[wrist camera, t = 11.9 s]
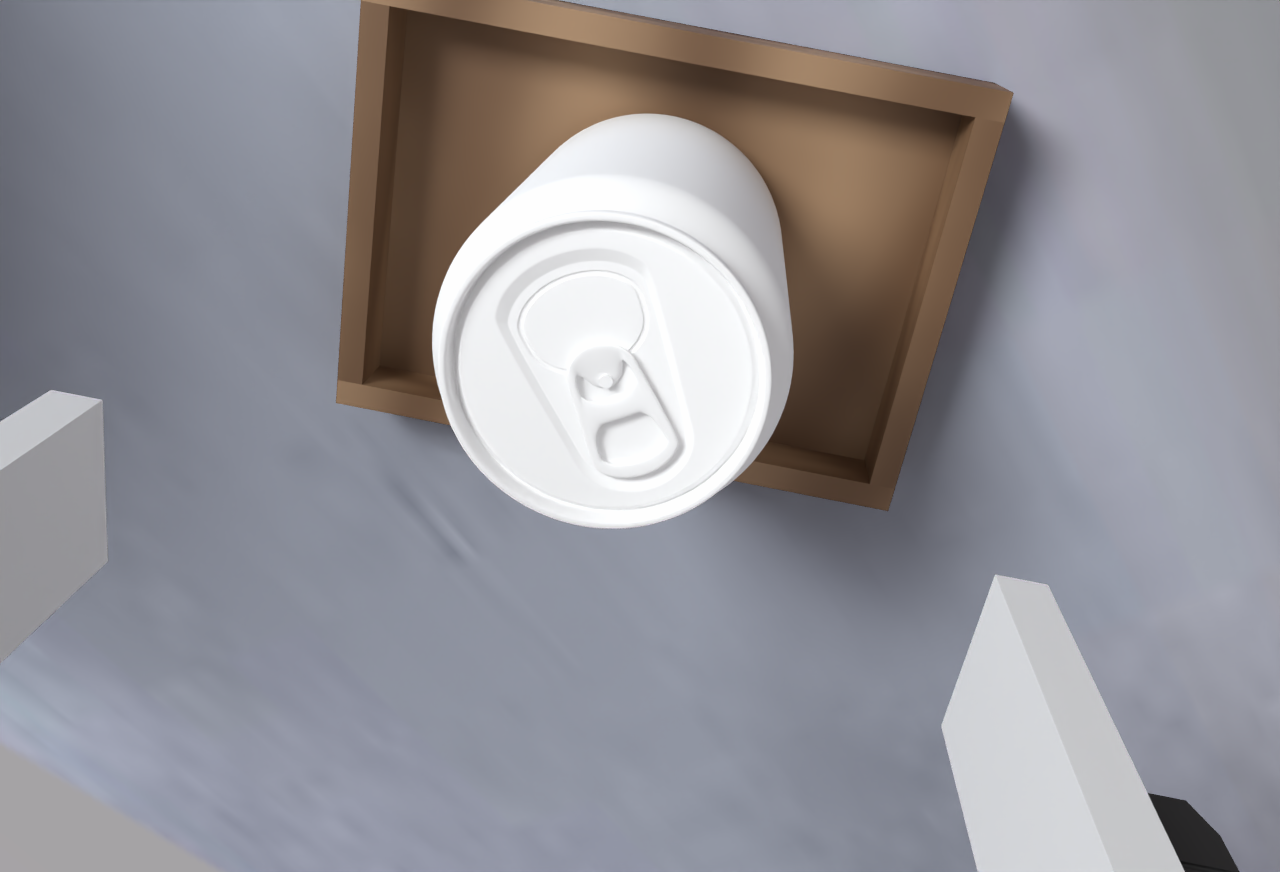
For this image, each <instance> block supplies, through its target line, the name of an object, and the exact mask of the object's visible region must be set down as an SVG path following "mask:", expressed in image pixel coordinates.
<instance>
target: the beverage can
mask: <svg viewBox="0 0 1280 872" xmlns="http://www.w3.org/2000/svg"><path fill="white" fill-rule="evenodd" d="M432 352H433V363H434V369H435V375H436V379H437V384H438V387H439V391H440V394H441V397H442V401H443V405H444V408H445V411H446V414H447V417H448V420H449V422H450V425H451V427H452V429H453V431H454V433H455V435H456V437H457V439H458V441H459V442H460V444H461V446H462V447H463V449H464V450H465V452H466V453H467V455H468V456H469V457H470V459H471V460H472V461H473V463H474V464H475V465H476V466H477V467H478V469H479V470H480V471H481V472H482V473H483V474H484V475H485V476H486V477H487V478H488V479H489V480H490V481H491V482H492V483H493V484H494V485H496V486H497V487H498V488H499V489H500V490H502V491H503V492H504V493H506V494H507V495H508V496H510V497H511V498H513V499H514V500H516V501H517V502H519V503H521V504H522V505H524V506H526V507H528V508H530V509H532V510H534V511H536V512H538V513H540V514H542V515H545V516H547V517H550V518H553V519H555V520H559V521H562V522H565V523H569V524H573V525H578V526H584V527H591V528H601V529H624V528H634V527H641V526H647V525H651V524H656V523H659V522H663V521H666V520H669V519H672V518H674V517H677V516H679V515H681V514H684V513H686V512H688V511H690V510H692V509H694V508H695V507H697V506H699V505H700V504H702V503H704V502H705V501H707V500H708V499H710V498H711V497H712V496H714V495H715V494H716V493H718V492H719V491H720V490H722V489H723V488H725V487H726V486H727V485H729V484H730V483H731V482H732V481H734V480H735V479H736V478H737V477H738V476H739V475H740V474H742V473H743V472H744V471H745V470H746V469H747V468H748V467H749V465H750V464H751V463H752V462H753V461H754V460H755V459H756V457H757V456H758V455H759V454H760V452H761V451H762V449H763V448H764V447H765V445H766V444H767V442H768V440H769V439H770V437H771V435H772V434H773V432H774V430H775V428H776V426H777V424H778V422H779V420H780V417H781V415H782V412H783V410H784V407H785V404H786V401H787V397H788V394H789V389H790V385H791V379H792V372H793V355H794V350H793V334H792V324H791V315H790V306H789V297H788V288H787V279H786V270H785V261H784V252H783V243H782V234H781V227H780V222H779V217H778V213H777V210H776V207H775V204H774V201H773V198H772V196H771V194H770V191H769V189H768V187H767V185H766V184H765V182H764V180H763V178H762V177H761V175H760V174H759V172H758V171H757V169H756V168H755V167H754V165H753V164H752V163H751V162H750V161H749V159H748V158H747V157H746V156H745V155H744V154H743V153H742V152H741V151H740V150H739V149H738V148H737V147H735V146H734V145H733V144H732V143H731V142H729V141H728V140H727V139H725V138H724V137H722V136H721V135H719V134H718V133H716V132H714V131H712V130H711V129H709V128H707V127H705V126H702V125H700V124H698V123H695V122H693V121H690V120H687V119H683V118H679V117H675V116H670V115H663V114H631V115H624V116H619V117H615V118H611V119H608V120H604V121H602V122H599V123H597V124H594V125H592V126H590V127H588V128H586V129H584V130H582V131H580V132H579V133H577V134H576V135H574V136H573V137H571V138H570V139H568V140H567V141H566V142H564V143H563V144H562V145H561V146H560V147H559V148H557V149H556V150H555V151H554V152H553V153H552V154H551V155H550V156H549V157H548V158H547V159H546V160H545V161H544V162H543V163H542V164H541V165H540V166H539V167H538V168H537V169H536V170H535V171H534V172H533V173H532V174H531V175H530V176H529V177H528V178H527V179H526V180H525V181H524V182H523V183H522V184H521V185H520V186H519V187H518V188H517V189H516V190H515V191H514V192H513V193H512V194H511V195H509V196H508V197H507V198H506V199H505V200H504V201H503V202H502V203H501V204H500V205H499V206H498V207H497V208H496V209H495V210H494V211H493V212H492V213H491V214H490V215H489V216H488V217H487V218H486V219H485V220H484V221H483V222H482V223H481V224H480V225H479V226H478V227H477V228H476V229H475V231H474V232H473V233H472V234H471V235H470V236H469V238H468V239H467V240H466V241H465V243H464V244H463V246H462V247H461V248H460V250H459V251H458V253H457V255H456V256H455V258H454V260H453V262H452V263H451V265H450V267H449V269H448V271H447V274H446V276H445V278H444V281H443V283H442V286H441V289H440V292H439V296H438V299H437V304H436V308H435V314H434V321H433V331H432Z"/></svg>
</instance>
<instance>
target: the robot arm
mask: <svg viewBox="0 0 1280 872" xmlns="http://www.w3.org/2000/svg"><path fill="white" fill-rule="evenodd" d="M107 562H108V548H107V518H106V488H105V457H104V427H103V400H101V399H96V398H90V397H85V396H80V395H75V394H70V393H65V392H60V391H55V390H50V391H48V392H47V393H45V394H44V395H42V396H40V397H39V398H37V399H36V400H34V401H32V402H31V403H29V404H28V405H26V406H24V407H23V408H21V409H20V410H18V411H16V412H15V413H13V414H12V415H10V416H8V417H7V418H5V419H4V420H2V421H0V664H1V663H2V662H3V661H4V660H5V659H6V658H7V657H8V656H9V655H10V654H11V653H12V652H13V651H14V650H15V649H16V648H17V647H18V646H19V645H21V644H22V643H23V642H24V641H25V640H26V639H27V638H28V637H29V636H30V635H31V634H32V633H33V632H34V631H35V630H36V629H37V628H38V627H40V626H41V625H42V624H43V623H44V622H45V621H46V620H47V619H48V618H49V617H50V616H51V615H52V614H53V613H54V612H55V611H56V610H57V609H59V608H60V607H61V606H62V605H63V604H64V603H65V602H66V601H67V600H68V599H69V598H70V597H71V596H72V595H73V594H74V593H75V592H76V591H78V590H79V589H80V588H81V587H82V586H83V585H84V584H85V583H86V582H87V581H88V580H89V579H90V578H91V577H92V576H93V575H94V574H95V573H96V572H98V571H99V570H100V569H101V568H102V567H103V566H104V565H105V564H106V563H107ZM941 727H942V731H943V735H944V739H945V743H946V747H947V751H948V755H949V759H950V763H951V767H952V771H953V775H954V779H955V783H956V787H957V791H958V795H959V799H960V803H961V807H962V811H963V815H964V819H965V823H966V827H967V831H968V835H969V839H970V843H971V847H972V851H973V855H974V859H975V863H976V867H977V871H978V872H1239V870H1238V868H1237V866H1236V864H1235V863H1234V861H1233V859H1232V857H1231V855H1230V853H1229V851H1228V850H1227V848H1226V846H1225V844H1224V842H1223V840H1222V838H1221V836H1220V835H1219V834H1218V833H1217V832H1216V831H1215V830H1214V829H1213V828H1212V827H1211V826H1210V825H1209V824H1208V823H1207V822H1206V821H1205V820H1204V819H1203V818H1202V817H1201V816H1200V815H1199V814H1198V813H1197V812H1196V811H1195V810H1194V809H1193V808H1192V806H1191V805H1190V804H1189V803H1188V802H1187V801H1185V800H1180V799H1175V798H1170V797H1165V796H1159V795H1154V794H1149V793H1147V791H1146V789H1145V787H1144V785H1143V783H1142V781H1141V779H1140V777H1139V775H1138V773H1137V770H1136V768H1135V766H1134V764H1133V762H1132V760H1131V758H1130V756H1129V754H1128V752H1127V749H1126V747H1125V745H1124V743H1123V741H1122V739H1121V737H1120V735H1119V733H1118V731H1117V729H1116V726H1115V724H1114V722H1113V720H1112V718H1111V716H1110V714H1109V712H1108V710H1107V708H1106V705H1105V703H1104V701H1103V699H1102V697H1101V695H1100V693H1099V691H1098V689H1097V687H1096V684H1095V682H1094V680H1093V678H1092V676H1091V674H1090V672H1089V670H1088V668H1087V666H1086V664H1085V661H1084V659H1083V657H1082V655H1081V653H1080V651H1079V649H1078V647H1077V645H1076V643H1075V640H1074V638H1073V636H1072V634H1071V632H1070V630H1069V628H1068V626H1067V624H1066V622H1065V620H1064V617H1063V615H1062V613H1061V611H1060V609H1059V607H1058V605H1057V603H1056V601H1055V599H1054V596H1053V594H1052V592H1051V590H1050V588H1049V586H1048V585H1047V584H1042V583H1037V582H1032V581H1026V580H1021V579H1016V578H1011V577H1006V576H1001V575H996V574H995V576H994V579H993V582H992V585H991V588H990V590H989V593H988V596H987V599H986V602H985V604H984V607H983V610H982V613H981V616H980V618H979V621H978V624H977V627H976V630H975V633H974V635H973V638H972V641H971V644H970V647H969V649H968V652H967V655H966V658H965V661H964V663H963V666H962V669H961V672H960V675H959V677H958V680H957V683H956V686H955V689H954V691H953V694H952V697H951V700H950V703H949V705H948V708H947V711H946V714H945V717H944V720H943V722H942V725H941Z"/></svg>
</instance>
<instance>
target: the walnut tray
mask: <svg viewBox="0 0 1280 872" xmlns="http://www.w3.org/2000/svg"><path fill="white" fill-rule="evenodd" d="M1012 96H1013V92H1011V91H1009V90H1007V89H1005V88H1003V87H1001V86H999V85H997V84H995V83H992V82H987V81H982V80H976V79H971V78H966V77H961V76H955V75H950V74H945V73H939V72H934V71H929V70H924V69H918V68H913V67H908V66H903V65H897V64H892V63H887V62H881V61H876V60H871V59H866V58H860V57H855V56H850V55H844V54H839V53H834V52H829V51H823V50H818V49H813V48H808V47H802V46H797V45H792V44H786V43H781V42H776V41H771V40H765V39H760V38H755V37H749V36H744V35H739V34H734V33H728V32H723V31H718V30H713V29H707V28H702V27H697V26H691V25H686V24H681V23H676V22H670V21H665V20H660V19H654V18H649V17H644V16H639V15H633V14H628V13H623V12H618V11H612V10H607V9H602V8H596V7H591V6H586V5H581V4H575V3H570V2H565V1H559V0H361V9H360V25H359V41H358V57H357V73H356V89H355V106H354V122H353V138H352V154H351V170H350V186H349V202H348V218H347V234H346V251H345V267H344V283H343V299H342V315H341V331H340V347H339V363H338V379H337V396H336V403H339V404H345V405H350V406H355V407H360V408H365V409H370V410H375V411H380V412H385V413H391V414H396V415H401V416H406V417H411V418H416V419H421V420H426V421H431V422H436V423H442V424H447V425H450V422H449V420H448V417H447V414H446V411H445V408H444V405H443V401H442V397H441V394H440V391H439V387H438V384H437V379H436V375H435V369H434V363H433V352H432V331H433V321H434V314H435V308H436V304H437V299H438V296H439V292H440V289H441V286H442V283H443V281H444V278H445V276H446V274H447V271H448V269H449V267H450V265H451V263H452V262H453V260H454V258H455V256H456V255H457V253H458V251H459V250H460V248H461V247H462V246H463V244H464V243H465V241H466V240H467V239H468V238H469V236H470V235H471V234H472V233H473V232H474V231H475V229H476V228H477V227H478V226H479V225H480V224H481V223H482V222H483V221H484V220H485V219H486V218H487V217H488V216H489V215H490V214H491V213H492V212H493V211H494V210H495V209H496V208H497V207H498V206H499V205H500V204H501V203H502V202H503V201H504V200H505V199H506V198H507V197H508V196H509V195H511V194H512V193H513V192H514V191H515V190H516V189H517V188H518V187H519V186H520V185H521V184H522V183H523V182H524V181H525V180H526V179H527V178H528V177H529V176H530V175H531V174H532V173H533V172H534V171H535V170H536V169H537V168H538V167H539V166H540V165H541V164H542V163H543V162H544V161H545V160H546V159H547V158H548V157H549V156H550V155H551V154H552V153H553V152H554V151H555V150H556V149H557V148H559V147H560V146H561V145H562V144H563V143H564V142H566V141H567V140H568V139H570V138H571V137H573V136H574V135H576V134H577V133H579V132H580V131H582V130H584V129H586V128H588V127H590V126H592V125H594V124H597V123H599V122H602V121H604V120H608V119H611V118H615V117H619V116H624V115H631V114H663V115H670V116H675V117H679V118H683V119H687V120H690V121H693V122H695V123H698V124H700V125H702V126H705V127H707V128H709V129H711V130H712V131H714V132H716V133H718V134H719V135H721V136H722V137H724V138H725V139H727V140H728V141H729V142H731V143H732V144H733V145H734V146H735V147H737V148H738V149H739V150H740V151H741V152H742V153H743V154H744V155H745V156H746V157H747V158H748V159H749V161H750V162H751V163H752V164H753V165H754V167H755V168H756V169H757V171H758V172H759V174H760V175H761V177H762V178H763V180H764V182H765V184H766V185H767V187H768V189H769V191H770V194H771V196H772V198H773V201H774V204H775V207H776V210H777V213H778V217H779V222H780V227H781V234H782V243H783V252H784V261H785V270H786V279H787V288H788V297H789V306H790V315H791V324H792V334H793V350H794V355H793V372H792V379H791V385H790V389H789V394H788V397H787V401H786V404H785V407H784V410H783V412H782V415H781V417H780V420H779V422H778V424H777V426H776V428H775V430H774V432H773V434H772V435H771V437H770V439H769V440H768V442H767V444H766V445H765V447H764V448H763V449H762V451H761V452H760V454H759V455H758V456H757V457H756V459H755V460H754V461H753V462H752V463H751V464H750V465H749V467H748V468H747V469H746V470H745V471H744V472H743V473H742V474H740V475H739V476H738V477H737V478H736V479H735V480H734V481H738V482H743V483H748V484H753V485H758V486H763V487H768V488H773V489H778V490H784V491H789V492H794V493H799V494H804V495H809V496H814V497H819V498H824V499H829V500H835V501H840V502H845V503H850V504H855V505H860V506H865V507H870V508H875V509H881V510H886V511H888V510H889V506H890V503H891V500H892V496H893V493H894V490H895V486H896V483H897V480H898V476H899V473H900V470H901V466H902V463H903V460H904V456H905V453H906V450H907V446H908V443H909V440H910V436H911V433H912V430H913V426H914V423H915V420H916V416H917V413H918V410H919V406H920V403H921V400H922V396H923V393H924V390H925V386H926V383H927V380H928V376H929V373H930V370H931V366H932V363H933V360H934V356H935V353H936V350H937V346H938V343H939V340H940V336H941V333H942V330H943V326H944V323H945V320H946V316H947V313H948V310H949V306H950V303H951V300H952V296H953V293H954V290H955V286H956V283H957V280H958V276H959V273H960V270H961V266H962V263H963V260H964V256H965V253H966V250H967V246H968V243H969V240H970V236H971V233H972V230H973V226H974V223H975V220H976V216H977V213H978V210H979V206H980V203H981V200H982V196H983V193H984V190H985V186H986V183H987V180H988V176H989V173H990V170H991V166H992V163H993V160H994V156H995V153H996V150H997V146H998V143H999V140H1000V136H1001V133H1002V130H1003V126H1004V123H1005V120H1006V116H1007V113H1008V110H1009V106H1010V103H1011V100H1012Z"/></svg>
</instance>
